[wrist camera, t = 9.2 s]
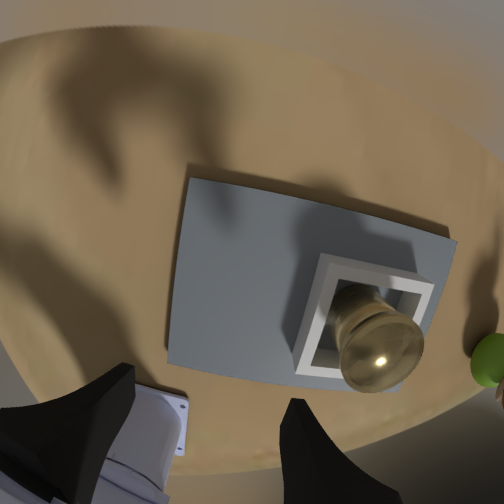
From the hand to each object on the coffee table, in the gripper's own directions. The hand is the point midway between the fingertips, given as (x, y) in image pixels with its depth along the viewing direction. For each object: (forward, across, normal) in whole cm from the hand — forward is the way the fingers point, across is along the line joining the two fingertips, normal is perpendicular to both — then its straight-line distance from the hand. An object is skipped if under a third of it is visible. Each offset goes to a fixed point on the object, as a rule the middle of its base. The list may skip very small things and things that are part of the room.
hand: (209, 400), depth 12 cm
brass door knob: (+8, -9, -2) cm, 12 cm away
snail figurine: (+10, -26, 0) cm, 28 cm away
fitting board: (+9, -6, -2) cm, 11 cm away
